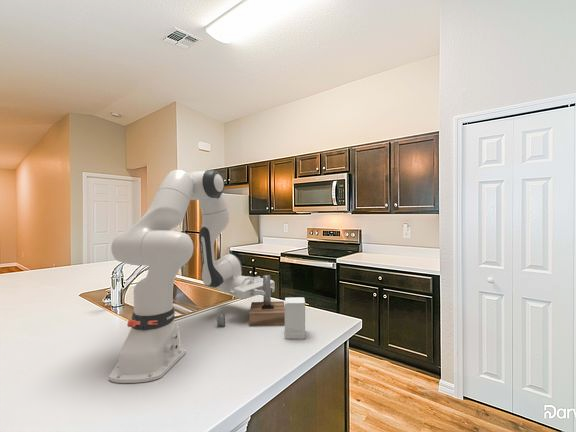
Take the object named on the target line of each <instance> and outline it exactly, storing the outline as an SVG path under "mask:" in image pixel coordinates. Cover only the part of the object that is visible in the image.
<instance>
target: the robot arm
mask: <svg viewBox="0 0 576 432" xmlns="http://www.w3.org/2000/svg"><path fill="white" fill-rule="evenodd" d="M224 190H225V180H224V178H223V176H222V174H220V172H219V171H217V170H213V169H207V170H200V171H199V170H197V171H196V170H195V171H190V172H187V171H185V170H183V169H174V170H171V171H170V172H168V173H167V175H166V176H165V178H164V179H163V181H162V182H161V183H160V185H159V186H158V189H157V191H156V194H155V196H154V198H153V199H152V202H151V203H150V206H149V208H148V209H147V211H146V212H145V213H144V214H143V215H142V217H140V218H139V220H137V221H136V222H135V223H134V224H132V225H131V227H129V228H127V229H126V230H124V231H122V232H120V233H118V234H116V236H115V237H114V238H113V240H112V242H111V246H110V247H111V254H112V256H113V258H114V259H115V260H116V261H117V262H119V263H123V264H126V265H131V266H147V267H148V270H147V275H146V277H145V278H142V279H141V280H139V281H138V282H137V283H136V284H135V286H134V287H133V311H132V314H131V315H132V316H131V319H128V321H127V323H126V325H127V328H130V329H129V331H128V334H127V336H126V338H125V341H124V343H123V345H122V347H121V350H120V352H119V358H118V361H117V363H116V364H115V366H114V367H113V369H112V370H111V373H110V374H109V376H108V381H109V382H113V383H117V384H136V383H146V382H151V381H155V380H158V379H161V378H162V377H163V376H165V374H167V372H169V370H170V369H171V368H172V367H174V365H176V363H178V362H179V361H180V359H182V357H183V356H184V355H185V354H186V349H185V348H183V347H181V332H180V327H179V325H178V324H177V323H176V322H175V314H176V313H175V307H174V306H173V305H174V303H173V301H174V285H175V279H176V277H177V274H178V273H179V271H180V269H181V268H182V267H183V266H184V265H186V264H187V263H188V262H189V261H190V259H191V258H192V257H193V254H194V242H193V240H192V239H191V236H190V235H189V234H187V233H184V232H181V231H176V230H172V229H175V228H176V227H178V226H179V225H181V224H182V223H183V220H184V219H185V216H186V214H187V210H188V207H189V205H190V203H191V201H198V202H199V208H200V212H201V217H202V219H201V221H202V222H201V227H200V230H199V231H198V232H199V233H198V241H199V242H198V243H199V251H200V253H199V254H200V260H201V261H200V263H201V269H200V270H201V271H200V276H201V280H202V282H203V284H204V285H205V286H207V287H209V288H213V289H214V288H217V289H218V290H219V291H221V292H223V293H226V294H229V295H233V297H235V298H237V299H240V300H246V299H247V300H248V299H249V298H252V297H255V296H261V297H263V295H266V291H265V290H263V277H261V276H260V275H255V276H249V275H247V276H245V275H243V268H242V266H243V265H242V261H241V260H240V259H239V257H238V256H236V255H235V254H233V253H227V254H226V255H223V256H221V257H220V258H219V259H217V260H216V259H215V249H214V247H215V245H214V244H215V243H216V240H217V238H218V237H219V236H220V234H221V233H222V232H223V231H225V229H227V227H228V225H229V222H230V213H229V208H228V205H227V201H226V197H225V195H224V193H223V192H224ZM275 283H276V282H275V281H274V280H272V279H270V288H271V293H274V292H275V290H276V289H275V288H276V286H275V285H276V284H275Z"/></svg>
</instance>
